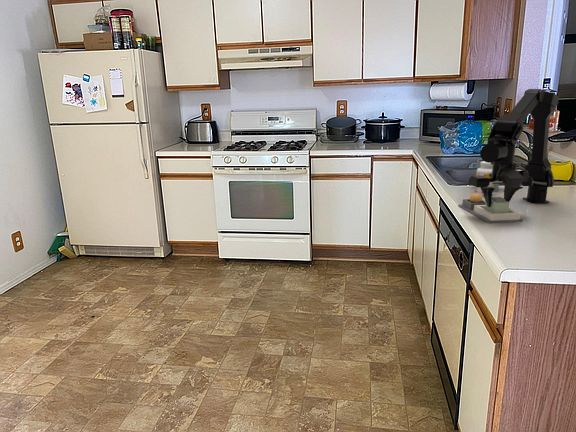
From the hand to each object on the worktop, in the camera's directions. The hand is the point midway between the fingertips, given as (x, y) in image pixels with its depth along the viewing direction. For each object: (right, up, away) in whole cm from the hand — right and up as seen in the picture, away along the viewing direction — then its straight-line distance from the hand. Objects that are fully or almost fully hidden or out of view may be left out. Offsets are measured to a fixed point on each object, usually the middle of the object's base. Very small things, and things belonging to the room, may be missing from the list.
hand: (497, 206), depth 145 cm
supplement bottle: (+9, +5, +31) cm, 33 cm away
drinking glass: (+14, +8, +39) cm, 42 cm away
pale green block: (0, -3, +1) cm, 3 cm away
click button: (-3, +2, +10) cm, 10 cm away
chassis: (-1, -2, +5) cm, 5 cm away
